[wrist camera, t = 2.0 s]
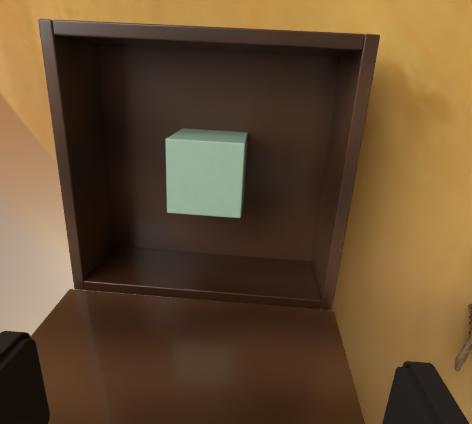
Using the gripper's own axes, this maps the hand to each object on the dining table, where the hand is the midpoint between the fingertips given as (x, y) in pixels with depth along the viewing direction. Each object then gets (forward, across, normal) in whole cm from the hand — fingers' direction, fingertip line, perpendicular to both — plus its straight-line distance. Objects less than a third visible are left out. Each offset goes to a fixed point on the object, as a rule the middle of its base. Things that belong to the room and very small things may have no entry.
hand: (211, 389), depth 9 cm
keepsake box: (+17, +2, -2) cm, 18 cm away
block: (+17, +2, -2) cm, 17 cm away
